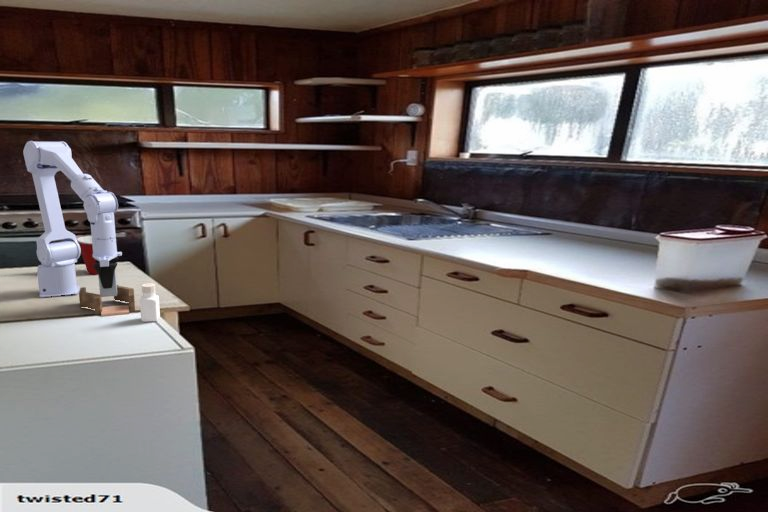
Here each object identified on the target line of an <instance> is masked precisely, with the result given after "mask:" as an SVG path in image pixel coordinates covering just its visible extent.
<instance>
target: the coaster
mask: <svg viewBox="0 0 768 512" xmlns="http://www.w3.org/2000/svg"><path fill="white" fill-rule="evenodd" d="M128 314H130V305H129V304H123V305H109V306H102V311H101V314H100V316H101V317H108V316H109V317H110V316H119V315H128Z"/></svg>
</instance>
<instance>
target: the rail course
mask: <svg viewBox="0 0 768 512" xmlns="http://www.w3.org/2000/svg"><path fill="white" fill-rule="evenodd" d="M78 297H79V307H88V308H91V309H95V311H94V313H95V315H101V312H102V311H101V309H102V307H103V303H102V297H101V295H100V293H99V294H98V293H93V292H88V291H87V289H86V287H85V286H84V287H83V286H82V287H80V289H79V292H78ZM114 299H115V300H120V301H125V302H129V304H128V305H129V312H135V311H136V309H135V308H136V303H135V302H136V301H135V289H134V288H133V287H128V286H121V285H119V284H117V296H113V300H114Z"/></svg>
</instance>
